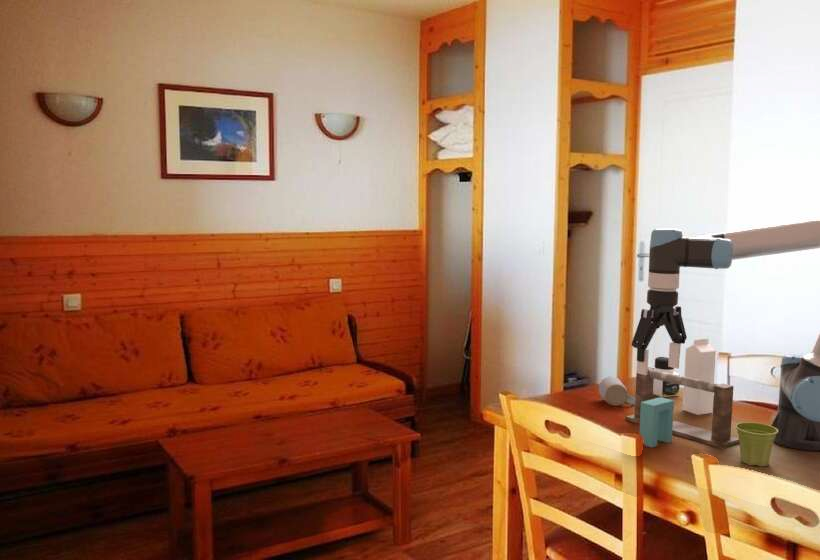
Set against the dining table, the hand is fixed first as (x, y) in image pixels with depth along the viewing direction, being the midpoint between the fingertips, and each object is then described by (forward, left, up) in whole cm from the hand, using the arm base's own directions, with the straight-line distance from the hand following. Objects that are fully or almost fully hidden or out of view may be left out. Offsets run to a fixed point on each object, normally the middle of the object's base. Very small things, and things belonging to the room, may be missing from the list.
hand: (658, 370), depth 194 cm
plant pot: (-23, -7, -19) cm, 31 cm away
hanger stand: (+2, -14, -19) cm, 24 cm away
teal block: (0, 0, -19) cm, 19 cm away
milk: (+10, -35, -19) cm, 41 cm away
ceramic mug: (+29, -23, -19) cm, 42 cm away
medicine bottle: (+28, -44, -19) cm, 56 cm away
